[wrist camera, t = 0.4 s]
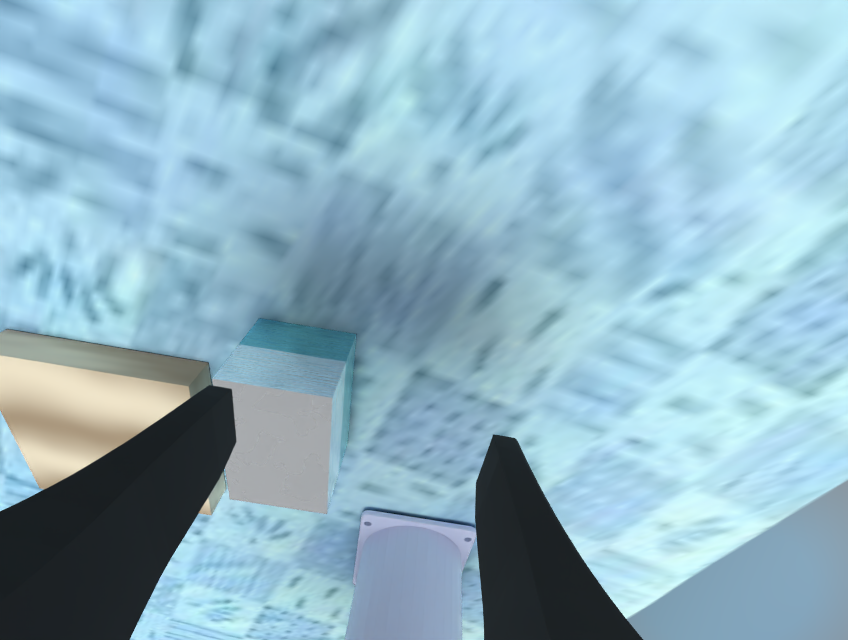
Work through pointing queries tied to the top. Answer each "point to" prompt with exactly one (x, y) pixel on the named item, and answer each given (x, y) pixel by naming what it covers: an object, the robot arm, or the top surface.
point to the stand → (87, 400)
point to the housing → (289, 413)
